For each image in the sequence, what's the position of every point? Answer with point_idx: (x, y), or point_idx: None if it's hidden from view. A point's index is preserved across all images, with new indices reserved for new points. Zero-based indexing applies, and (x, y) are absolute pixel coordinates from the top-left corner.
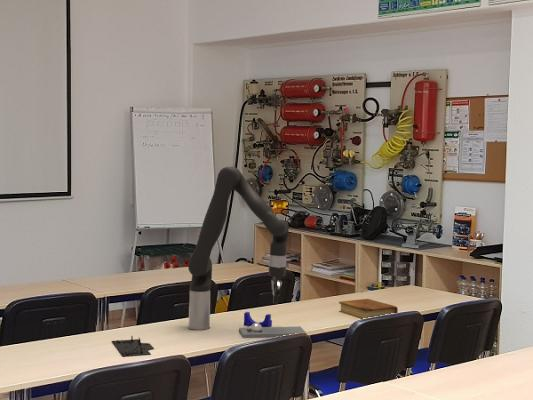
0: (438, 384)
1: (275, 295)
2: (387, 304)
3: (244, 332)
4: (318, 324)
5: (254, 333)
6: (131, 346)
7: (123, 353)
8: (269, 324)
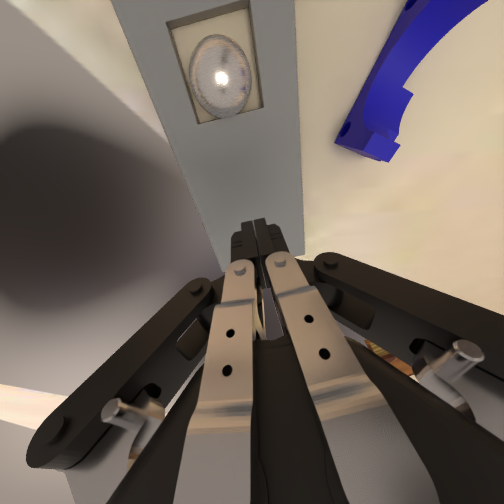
0: (6, 402)
1: (214, 281)
2: (409, 375)
3: None
4: None
5: (159, 73)
6: None
7: None
8: (351, 149)
